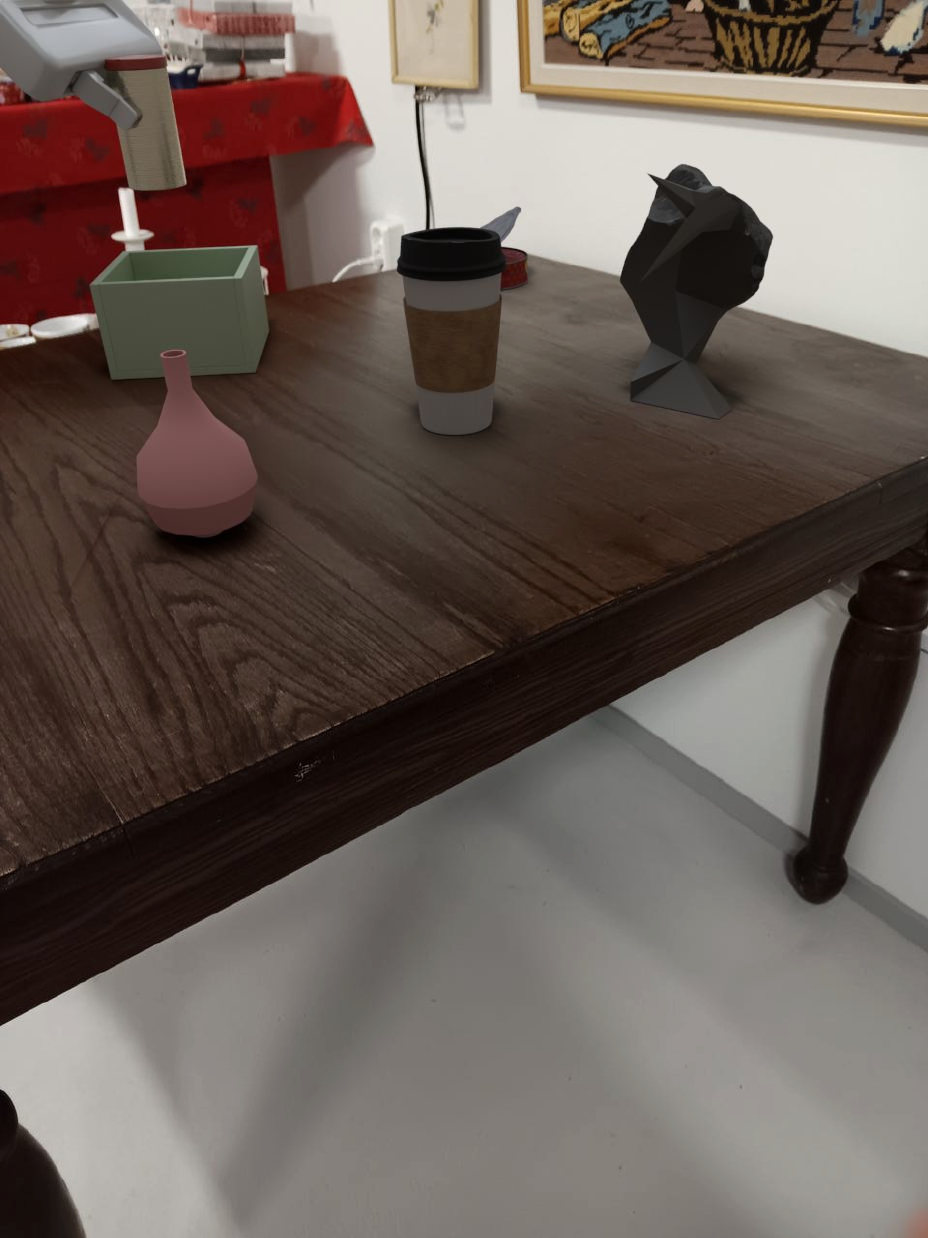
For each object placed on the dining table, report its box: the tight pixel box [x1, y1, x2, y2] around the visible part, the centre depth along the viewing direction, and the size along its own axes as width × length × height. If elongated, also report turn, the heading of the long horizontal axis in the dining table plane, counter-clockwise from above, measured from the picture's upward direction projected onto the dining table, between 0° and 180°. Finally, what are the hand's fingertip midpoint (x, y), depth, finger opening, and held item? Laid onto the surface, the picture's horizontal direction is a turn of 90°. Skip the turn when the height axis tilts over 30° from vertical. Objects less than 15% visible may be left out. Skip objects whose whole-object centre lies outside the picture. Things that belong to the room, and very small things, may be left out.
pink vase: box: [135, 350, 259, 538], centre depth 61 cm, size 8×8×12 cm
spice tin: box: [104, 54, 187, 192], centre depth 83 cm, size 5×5×10 cm
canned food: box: [480, 205, 529, 291], centre depth 117 cm, size 11×10×10 cm
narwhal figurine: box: [619, 163, 774, 420], centre depth 82 cm, size 14×15×18 cm
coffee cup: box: [396, 226, 507, 436], centre depth 76 cm, size 8×8×15 cm
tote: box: [89, 244, 270, 381], centre depth 94 cm, size 14×14×9 cm
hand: (152, 118), depth 83 cm, fingers closed on spice tin, 5 cm apart
